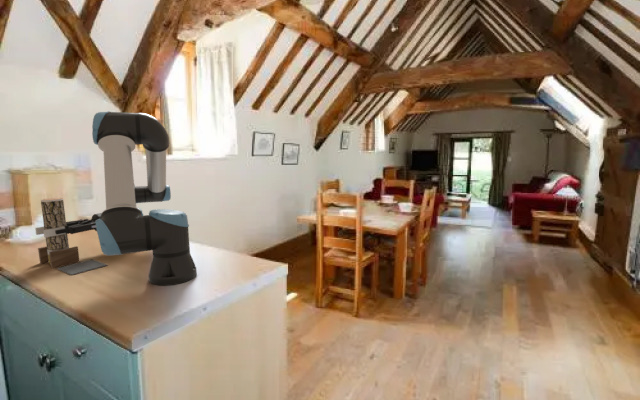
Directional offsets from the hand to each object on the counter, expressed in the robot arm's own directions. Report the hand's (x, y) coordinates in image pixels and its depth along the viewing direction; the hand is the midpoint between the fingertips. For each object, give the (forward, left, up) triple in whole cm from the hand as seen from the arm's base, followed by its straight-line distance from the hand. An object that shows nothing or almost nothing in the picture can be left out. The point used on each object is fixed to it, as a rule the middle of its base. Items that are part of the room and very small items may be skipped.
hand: (40, 232), depth 131 cm
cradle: (0, -5, -13) cm, 14 cm away
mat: (-14, -7, -13) cm, 20 cm away
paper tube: (0, -5, -13) cm, 14 cm away
